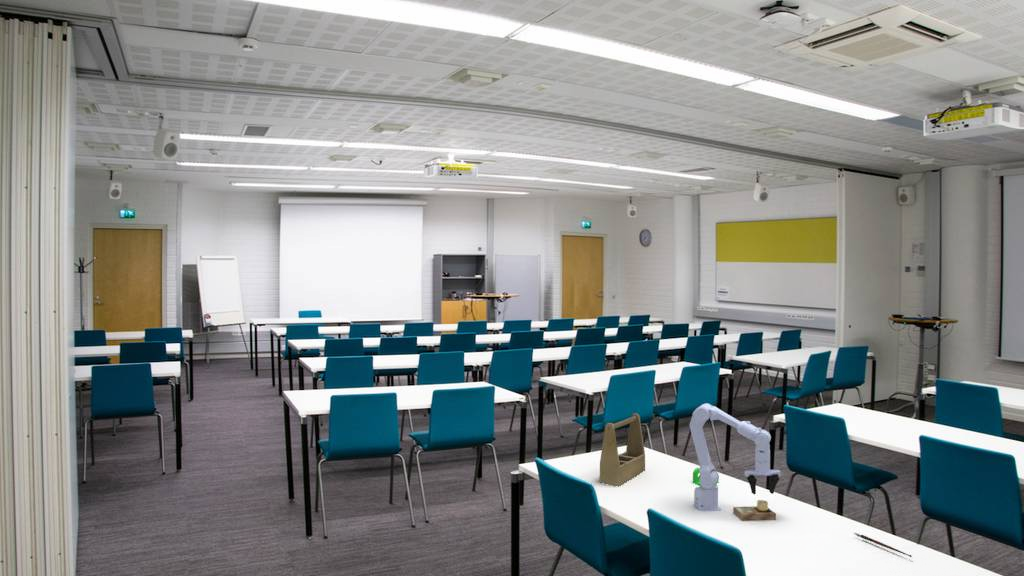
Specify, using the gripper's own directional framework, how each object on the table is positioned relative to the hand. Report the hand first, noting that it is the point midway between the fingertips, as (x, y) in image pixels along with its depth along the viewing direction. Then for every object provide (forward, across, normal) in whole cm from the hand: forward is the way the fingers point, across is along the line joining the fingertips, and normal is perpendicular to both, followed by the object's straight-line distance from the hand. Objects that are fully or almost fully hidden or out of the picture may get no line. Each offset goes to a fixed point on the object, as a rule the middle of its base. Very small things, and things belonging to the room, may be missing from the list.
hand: (762, 493), depth 273 cm
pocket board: (+9, -4, 0) cm, 10 cm away
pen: (+9, +32, -22) cm, 40 cm away
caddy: (+10, -45, +55) cm, 72 cm away
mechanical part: (+10, -8, +42) cm, 44 cm away
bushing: (+10, 0, 0) cm, 10 cm away
